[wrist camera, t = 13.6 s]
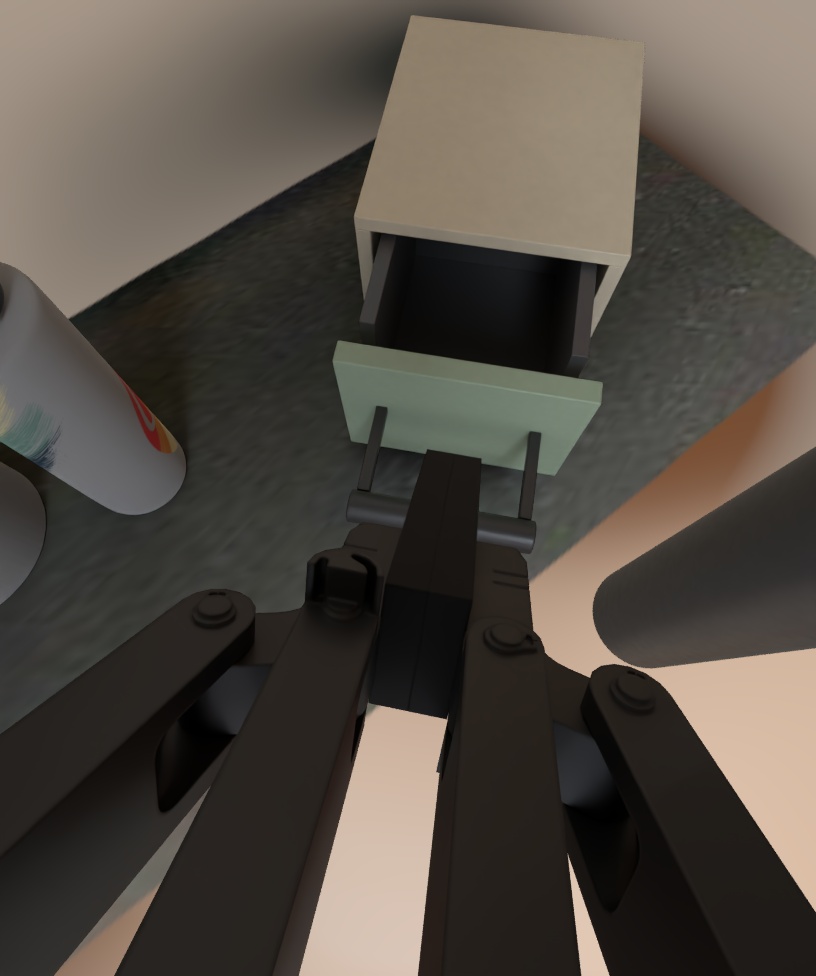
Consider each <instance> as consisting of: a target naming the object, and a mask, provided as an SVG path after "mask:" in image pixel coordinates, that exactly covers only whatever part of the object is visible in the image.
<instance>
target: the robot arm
mask: <svg viewBox="0 0 816 976" xmlns="http://www.w3.org/2000/svg"><path fill="white" fill-rule="evenodd" d="M481 462H482V458H476V457H470V456H465V455H459V454H453V453H447V452H442V451H436V450H430V449H427V451H426V454H425V458H424V461H423V464H422V467H421V470H420V473H419V477H418V480H417V483H416V486H415V489H414V493H413V496H412V499H411V502H410V505H409V509H408V512H407V515H406V518H405V521H404V524H403V528H402V529H400V528H395V527H389V526H384V525H379V524H373V523H368V522H363V523H361V524H360V525H358V526H357V527H355V528H354V529H352V530H351V531H350V532H349V534H348V536H347V538H346V540H345V542H344V546H342V548H336V549H329V550H325V551H322V552H320V553H317V554H315V555H314V556H313V557H312V558H311V559H310V560H309V561H308V562H307V577H306V592H305V602H304V604H303V606H302V608H299V609H296V610H292V611H288V612H278V613H255V610H256V607H255V605H254V604H253V602H252V601H251V599H250V598H249V597H247V596H245V595H243V594H242V593H240V592H236V591H232V590H227V589H210V590H205V591H201V592H197V593H194V594H192V595H190V596H188V597H187V598H185V599H183V600H181V601H180V602H179V603H177V604H176V605H175V606H173V607H172V608H170V609H169V610H168V611H166V612H165V613H164V614H162V615H161V616H160V617H158V618H157V619H156V620H154V621H153V622H152V623H150V624H149V625H147V626H146V627H145V628H143V629H142V630H141V631H139V632H138V633H137V634H135V635H134V636H133V637H131V638H130V639H129V640H127V641H126V642H125V643H123V644H122V645H120V646H119V647H118V648H116V649H115V650H114V651H112V652H111V653H110V654H108V655H107V656H106V657H104V658H103V659H102V660H100V661H99V662H97V663H96V664H95V665H93V666H92V667H91V668H89V669H88V670H87V671H85V672H84V673H83V674H81V675H80V676H79V677H77V678H76V679H74V680H73V681H72V682H70V683H69V684H68V685H66V686H65V687H64V688H62V689H61V690H60V691H58V692H57V693H56V694H54V695H53V696H52V697H50V698H49V699H47V700H46V701H45V702H43V703H42V704H41V705H39V706H38V707H37V708H35V709H34V710H33V711H31V712H30V713H29V714H27V715H26V716H24V717H23V718H22V719H20V720H19V721H18V722H16V723H15V724H14V725H12V726H11V727H10V728H8V729H7V730H6V731H4V732H3V733H1V734H0V976H54V975H55V973H56V972H57V971H58V970H59V968H60V967H61V966H62V965H63V964H64V962H65V961H66V960H67V959H68V958H69V956H70V955H71V954H72V953H73V952H74V950H75V949H76V948H77V947H78V945H79V944H80V943H81V942H82V941H83V939H84V938H85V937H86V936H87V935H88V933H89V932H90V931H91V930H92V929H93V927H94V926H95V925H96V924H97V922H98V921H99V920H100V919H101V918H102V916H103V915H104V914H105V913H106V912H107V910H108V909H109V908H110V907H111V906H112V904H113V903H114V902H115V901H116V899H117V898H118V897H119V896H120V895H121V893H122V892H123V891H124V890H125V889H126V887H127V886H128V885H129V884H130V883H131V881H132V880H133V879H134V878H135V876H136V875H137V874H138V873H139V872H140V870H141V869H142V868H143V867H144V866H145V864H146V863H147V862H148V861H149V860H150V858H151V857H152V856H153V855H154V853H155V852H156V851H157V850H158V849H159V847H160V846H161V845H162V844H163V843H164V841H165V840H166V839H167V838H168V837H169V835H170V834H171V833H172V832H173V830H174V829H175V828H176V827H177V826H178V824H179V823H180V822H181V821H182V820H183V818H184V817H185V816H186V815H187V814H188V812H189V811H190V810H191V809H192V807H193V806H194V805H195V804H196V803H197V801H198V800H199V799H200V798H201V797H202V795H203V794H204V793H205V792H206V791H207V789H208V788H209V787H210V786H211V787H210V789H209V791H208V793H207V795H206V797H205V799H204V801H203V802H202V804H201V806H200V808H199V810H198V812H197V814H196V816H195V818H194V820H193V822H192V824H191V826H190V828H189V830H188V832H187V834H186V836H185V838H184V840H183V842H182V844H181V846H180V848H179V850H178V852H177V853H176V855H175V857H174V859H173V861H172V863H171V865H170V867H169V869H168V871H167V873H166V875H165V877H164V879H163V881H162V883H161V885H160V887H159V889H158V891H157V893H156V895H155V897H154V899H153V901H152V903H151V904H150V906H149V908H148V910H147V912H146V914H145V916H144V918H143V920H142V922H141V924H140V926H139V928H138V930H137V932H136V934H135V936H134V938H133V940H132V942H131V944H130V946H129V948H128V950H127V952H126V954H125V956H124V958H123V959H122V962H121V963H120V965H119V967H118V969H117V971H116V973H115V975H114V976H299V972H300V968H301V964H302V961H303V957H304V953H305V949H306V945H307V942H308V938H309V934H310V930H311V926H312V922H313V918H314V914H315V911H316V907H317V903H318V900H319V896H320V892H321V888H322V884H323V881H324V877H325V873H326V869H327V865H328V861H329V858H330V854H331V850H332V846H333V842H334V838H335V835H336V831H337V827H338V823H339V820H340V816H341V812H342V808H343V804H344V800H345V797H346V792H347V789H348V785H349V781H350V778H351V773H352V770H353V766H354V762H355V759H356V754H357V751H358V747H359V743H360V739H361V735H362V731H363V728H364V722H365V715H366V708H367V703H368V699H369V703H371V704H376V705H381V706H385V707H391V708H395V709H400V710H405V711H409V712H414V713H419V714H424V715H429V716H434V717H439V718H443V719H447V716H448V722H447V726H446V730H445V735H444V740H443V744H442V749H441V754H440V757H439V762H438V767H437V771H436V772H438V773H440V774H439V783H438V784H439V785H438V792H437V802H436V811H435V821H434V830H433V840H432V850H431V858H430V867H429V877H428V886H427V896H426V905H425V915H424V924H423V933H422V934H423V935H422V943H421V952H420V961H419V971H418V976H581V969H580V961H579V951H578V943H577V934H576V925H575V916H574V907H573V898H572V890H571V880H570V872H569V863H568V855H569V858H570V861H571V864H572V867H573V870H574V873H575V876H576V879H577V882H578V885H579V888H580V891H581V894H582V897H583V899H584V902H585V905H586V908H587V911H588V914H589V917H590V920H591V923H592V926H593V928H594V931H595V934H596V937H597V940H598V943H599V946H600V949H601V952H602V955H603V957H604V961H605V964H606V966H607V969H608V972H609V975H610V976H816V912H815V911H814V909H813V908H812V906H811V905H810V903H809V902H808V900H807V899H806V897H805V896H804V894H803V893H802V891H801V890H800V888H799V887H798V885H797V884H796V882H795V881H794V879H793V878H792V876H791V875H790V873H789V872H788V870H787V869H786V867H785V866H784V864H783V863H782V861H781V860H780V858H779V857H778V855H777V854H776V852H775V851H774V849H773V848H772V846H771V845H770V843H769V842H768V840H767V839H766V837H765V836H764V834H763V833H762V831H761V830H760V828H759V827H758V825H757V824H756V822H755V821H754V819H753V818H752V816H751V815H750V813H749V812H748V810H747V809H746V807H745V806H744V804H743V803H742V801H741V800H740V798H739V797H738V795H737V794H736V792H735V791H734V789H733V788H732V786H731V785H730V783H729V782H728V780H727V779H726V777H725V776H724V774H723V773H722V771H721V770H720V768H719V767H718V766H717V764H716V762H715V761H714V759H713V758H712V756H711V755H710V753H709V752H708V750H707V749H706V747H705V746H704V744H703V743H702V741H701V740H700V738H699V737H698V735H697V734H696V732H695V731H694V729H693V728H692V726H691V725H690V723H689V722H688V720H687V719H686V717H685V716H684V714H683V713H682V711H681V710H680V708H679V707H678V705H677V704H676V702H675V701H674V699H673V698H672V696H671V695H670V694H669V693H668V691H666V689H665V688H664V687H663V686H662V685H661V684H660V683H659V682H657V681H656V680H655V679H653V678H652V677H650V676H649V675H647V674H646V673H644V672H641V671H638V670H636V669H634V668H632V667H628V666H622V665H617V664H612V665H604V666H600V667H599V668H597V669H596V670H594V671H593V672H592V674H591V677H590V678H589V677H587V676H584V675H582V674H580V673H578V672H575V671H573V670H571V669H568V668H567V667H565V666H563V665H561V664H559V663H557V662H556V661H554V660H553V659H552V658H550V657H549V656H548V655H547V654H546V653H545V650H544V646H543V644H542V641H541V639H540V637H539V636H538V635H537V634H536V633H535V632H534V631H533V623H532V613H531V602H530V591H529V580H528V570H527V562H526V560H525V559H524V558H523V556H522V555H521V554H520V552H519V551H518V550H517V548H511V547H506V546H501V545H495V544H490V543H484V542H479V541H477V528H478V511H479V495H480V478H481ZM211 784H212V785H211ZM567 853H568V854H567Z"/></svg>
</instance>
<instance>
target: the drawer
mask: <svg viewBox="0 0 816 976" xmlns="http://www.w3.org/2000/svg"><path fill="white" fill-rule="evenodd" d="M596 272H597V263H590V262H583V261H576V260H569V259H562V258H555V257H548V256H541V255H535V254H528V253H521V252H514V251H507V250H500V249H493V248H486V247H479V246H472V245H465V244H458V243H451V242H444V241H437V240H430V239H423V238H416V237H409V236H402V235H395V234H388V233H382V234H381V238H380V242H379V246H378V250H377V253H376V257H375V261H374V265H373V269H372V273H371V276H370V280H369V284H368V288H367V292H366V296H365V300H364V303H363V307H362V311H361V315H360V319H359V326H360V333H361V341H362V344H357V343H351V342H345V341H338V342H337V346H336V349H335V353H334V357H333V360H332V361H333V365H334V370H335V374H336V378H337V383H338V387H339V391H340V395H341V400H342V404H343V408H344V413H345V417H346V421H347V426H348V430H349V434H350V438H351V441H353V442H359V443H365V444H367V448H366V452H365V457H364V461H363V465H362V470H361V474H360V478H359V482H358V487H357V490H352V492H351V494H350V496H349V500H348V505H347V512H346V518H347V521H348V522H354V523H359V524H361V523H363V522H368V523H373V524H379V525H384V526H389V527H395V528H400V529H402V528H403V524H404V521H405V518H406V515H407V512H408V509H409V505H410V502H411V499H406V498H400V497H394V496H389V495H383V494H377V493H372V492H370V490H371V486H372V482H373V477H374V473H375V468H376V464H377V459H378V455H379V450H380V446H383V447H389V448H394V449H400V450H406V451H412V452H418V453H424V454H426V451H427V449H430V450H436V451H442V452H447V453H453V454H459V455H465V456H470V457H476V458H482V462H481V463H483V464H489V465H494V466H500V467H506V468H512V469H518V470H524V473H523V480H522V488H521V496H520V504H519V512H518V518H514V517H508V516H502V515H497V514H491V513H485V512H480V511H478V528H477V541H479V542H484V543H490V544H495V545H501V546H506V547H511V548H517V550H518V551H519V552H520V553H526V554H530V553H531V552H532V549H533V546H534V542H535V537H536V522H535V521H531V519H532V511H533V503H534V494H535V486H536V477H537V473H541V474H547V475H553V476H554V475H556V473H557V471H558V470H559V468H560V467H561V465H562V464H563V462H564V461H565V459H566V458H567V456H568V454H569V453H570V451H571V450H572V448H573V447H574V445H575V444H576V442H577V440H578V439H579V437H580V436H581V434H582V433H583V431H584V430H585V428H586V426H587V425H588V423H589V422H590V420H591V419H592V417H593V416H594V414H595V413H596V411H597V409H598V408H599V406H600V405H601V399H602V387H603V383H602V382H598V381H592V380H585V379H579V378H578V377H579V375H580V373H581V371H582V369H583V367H584V365H585V363H586V361H587V359H588V357H589V348H590V337H591V326H592V315H593V304H594V293H595V283H596Z"/></svg>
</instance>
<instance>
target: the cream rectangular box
mask: <svg viewBox="0 0 816 976" xmlns="http://www.w3.org/2000/svg"><path fill="white" fill-rule="evenodd" d="M644 52H645V43H644V42H636V41H628V40H619V39H611V38H602V37H594V36H585V35H576V34H568V33H559V32H551V31H542V30H534V29H525V28H517V27H507V26H499V25H491V24H482V23H473V22H465V21H457V20H448V19H439V18H430V17H422V16H414V15H412V16H411V18H410V22H409V25H408V29H407V32H406V36H405V39H404V43H403V46H402V50H401V53H400V57H399V60H398V64H397V67H396V71H395V74H394V78H393V82H392V85H391V89H390V92H389V95H388V99H387V103H386V106H385V109H384V113H383V117H382V120H381V124H380V127H379V131H378V134H377V138H376V141H375V145H374V148H373V152H372V155H371V159H370V162H369V166H368V169H367V173H366V176H365V180H364V183H363V187H362V190H361V194H360V197H359V201H358V204H357V208H356V211H355V215H354V222H355V228H356V238H357V246H358V255H359V263H360V271H361V280H362V288H363V297H364V300H365V296H366V292H367V288H368V284H369V280H370V276H371V273H372V269H373V265H374V261H375V257H376V253H377V250H378V246H379V242H380V238H381V234H382V233H388V234H395V235H402V236H409V237H416V238H423V239H430V240H437V241H444V242H451V243H458V244H465V245H472V246H479V247H486V248H493V249H500V250H507V251H514V252H521V253H528V254H535V255H541V256H548V257H555V258H562V259H569V260H576V261H583V262H590V263H597V272H596V283H595V293H594V304H593V315H592V326H591V336H592V334H593V332H594V330H595V328H596V326H597V324H598V322H599V320H600V318H601V316H602V314H603V312H604V310H605V308H606V306H607V304H608V302H609V300H610V298H611V296H612V294H613V292H614V290H615V288H616V286H617V284H618V282H619V280H620V278H621V276H622V274H623V272H624V270H625V267H626V265H627V263H628V261H629V259H630V257H631V249H632V234H633V219H634V203H635V188H636V173H637V158H638V143H639V128H640V112H641V98H642V82H643V67H644ZM590 338H591V337H590Z"/></svg>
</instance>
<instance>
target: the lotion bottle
mask: <svg viewBox="0 0 816 976" xmlns="http://www.w3.org/2000/svg"><path fill="white" fill-rule="evenodd" d="M0 441H1V442H2V443H4V444H5V445H7V446H9V447H10V448H12V449H13V450H15V451H17V452H18V453H20V454H21V455H23V456H25V457H26V458H28V459H29V460H31V461H32V462H34V463H36V464H37V465H39V466H40V467H42V468H44V469H45V470H47V471H48V472H50V473H52V474H53V475H55V476H56V477H58V478H60V479H61V480H63V481H64V482H66V483H67V484H69V485H71V486H72V487H74V488H75V489H77V490H79V491H80V492H82V493H83V494H85V495H87V496H88V497H90V498H91V499H93V500H95V501H96V502H98V503H100V504H101V505H103V506H105V507H107V508H109V509H111V510H113V511H115V512H118V513H122V514H128V515H138V514H145V513H148V512H151V511H154V510H156V509H158V508H160V507H162V506H163V505H165V504H166V503H167V502H168V501H170V500H171V499H172V498H173V497H174V495H175V494H176V493H177V492H178V490H179V489H180V487H181V485H182V483H183V480H184V478H185V473H186V460H185V456H184V452H183V450H182V448H181V446H180V445H179V443H178V442H177V441H176V439H175V438H174V437H173V436H172V434H171V433H170V432H169V431H168V430H167V429H166V428H165V426H164V425H163V424H162V423H161V422H160V421H159V420H158V419H157V418H156V416H155V415H154V414H153V413H152V412H151V411H150V410H149V409H148V408H147V406H146V405H145V404H144V403H143V402H142V401H141V400H140V399H139V398H138V396H137V395H136V394H135V393H134V392H133V391H132V390H131V389H130V388H129V386H128V385H127V384H126V383H125V382H124V381H123V380H122V379H121V378H120V376H119V375H118V374H117V373H116V372H115V371H114V370H113V369H112V368H111V366H110V365H109V364H108V363H107V362H106V361H105V360H104V359H103V358H102V356H101V355H100V354H99V353H98V352H97V351H96V350H95V349H94V348H93V346H92V345H91V344H90V343H89V342H88V341H87V340H86V339H85V338H84V337H83V335H82V334H81V333H80V332H79V331H78V330H77V329H76V328H75V327H74V325H73V324H72V323H71V322H70V321H69V320H68V319H67V318H66V317H65V315H64V314H63V313H62V312H61V311H60V310H59V309H58V308H57V307H56V306H55V305H54V304H53V302H52V301H51V300H50V299H49V298H48V297H47V296H46V295H45V294H44V293H43V292H42V290H40V288H39V287H38V286H37V285H36V284H35V283H34V282H33V281H32V280H31V279H30V278H29V277H28V276H26V275H25V274H24V273H22V272H21V271H20V270H18V269H16V268H14V267H12V266H10V265H8V264H5V263H1V262H0Z"/></svg>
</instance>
